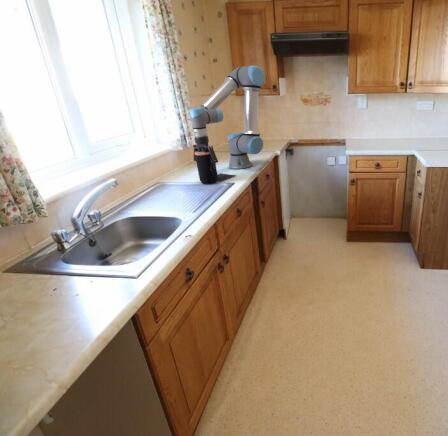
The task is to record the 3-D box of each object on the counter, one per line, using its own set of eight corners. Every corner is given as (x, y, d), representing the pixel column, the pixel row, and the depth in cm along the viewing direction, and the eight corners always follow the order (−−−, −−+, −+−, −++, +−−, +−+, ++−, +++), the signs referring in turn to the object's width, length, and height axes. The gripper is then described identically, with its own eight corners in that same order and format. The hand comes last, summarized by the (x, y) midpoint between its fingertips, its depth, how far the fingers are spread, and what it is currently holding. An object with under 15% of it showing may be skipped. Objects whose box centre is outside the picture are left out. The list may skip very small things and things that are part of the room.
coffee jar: (215, 183, 191) (210, 153, 183) (197, 184, 191) (191, 154, 184) (220, 178, 200) (215, 149, 193) (203, 178, 201) (198, 150, 193)
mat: (220, 173, 213) (220, 173, 213) (235, 175, 207) (235, 175, 206) (205, 179, 203) (205, 178, 202) (221, 181, 196) (220, 181, 196)
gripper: (182, 136, 187) (189, 173, 196) (210, 138, 176) (217, 177, 185) (192, 134, 193) (199, 169, 202) (220, 135, 182) (226, 173, 191)
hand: (207, 173), depth 194 cm, fingers closed on coffee jar, 11 cm apart
